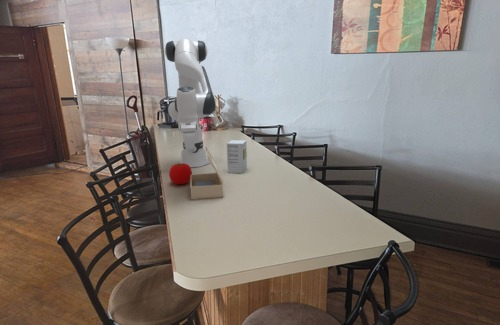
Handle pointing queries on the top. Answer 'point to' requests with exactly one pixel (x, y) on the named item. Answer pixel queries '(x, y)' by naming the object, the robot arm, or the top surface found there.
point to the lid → (214, 165)
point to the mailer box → (205, 186)
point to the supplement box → (236, 156)
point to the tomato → (180, 173)
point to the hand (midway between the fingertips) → (190, 154)
